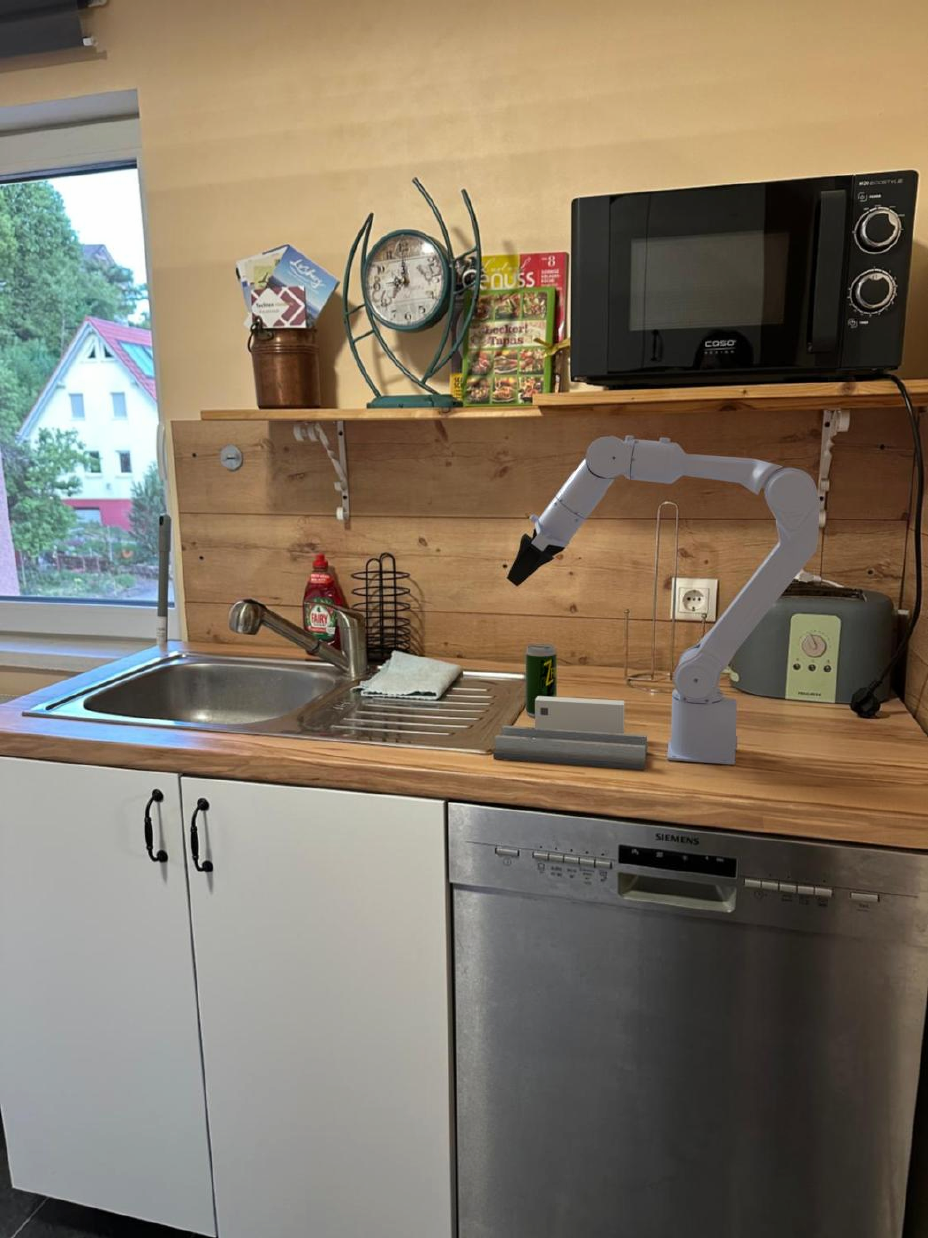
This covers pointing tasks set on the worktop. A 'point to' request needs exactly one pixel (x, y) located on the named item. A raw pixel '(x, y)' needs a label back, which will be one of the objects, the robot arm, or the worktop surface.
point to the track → (572, 747)
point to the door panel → (580, 714)
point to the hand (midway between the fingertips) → (517, 577)
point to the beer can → (540, 674)
